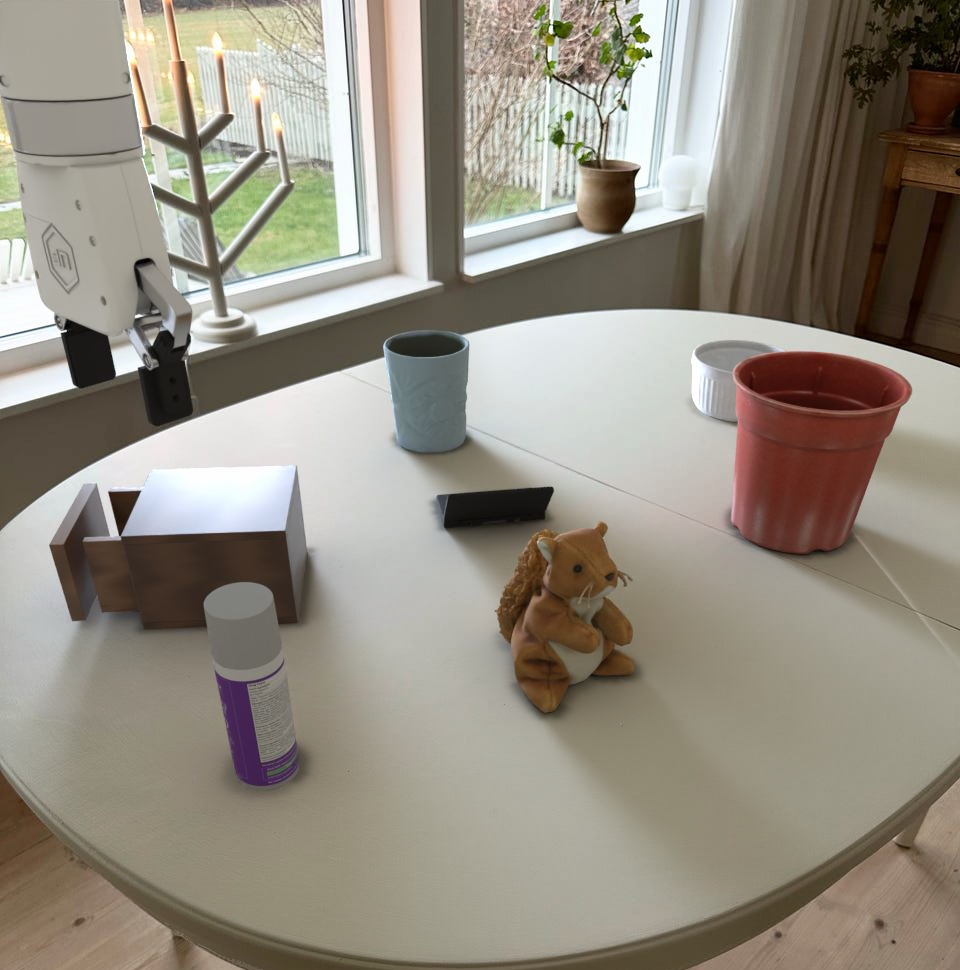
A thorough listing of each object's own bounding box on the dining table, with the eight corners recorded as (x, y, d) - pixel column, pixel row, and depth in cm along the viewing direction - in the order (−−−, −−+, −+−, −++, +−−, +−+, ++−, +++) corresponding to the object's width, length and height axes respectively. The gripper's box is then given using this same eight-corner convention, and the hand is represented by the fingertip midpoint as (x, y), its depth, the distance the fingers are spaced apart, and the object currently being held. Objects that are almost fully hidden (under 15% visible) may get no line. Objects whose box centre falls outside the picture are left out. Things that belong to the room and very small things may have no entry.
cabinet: (143, 630, 85) (120, 536, 79) (169, 557, 95) (150, 469, 89) (298, 624, 86) (285, 530, 80) (307, 552, 96) (297, 465, 90)
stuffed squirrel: (547, 723, 75) (555, 581, 67) (463, 632, 85) (462, 499, 77) (649, 685, 79) (669, 547, 71) (557, 602, 89) (565, 473, 81)
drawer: (57, 622, 84) (33, 545, 80) (90, 555, 94) (70, 483, 89) (214, 615, 85) (200, 539, 81) (231, 550, 94) (219, 479, 90)
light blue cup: (452, 461, 113) (450, 362, 106) (374, 448, 116) (368, 351, 109) (481, 428, 121) (481, 334, 114) (408, 417, 124) (404, 324, 117)
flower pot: (685, 498, 106) (706, 355, 96) (821, 484, 108) (854, 344, 99) (749, 575, 93) (780, 419, 83) (902, 558, 95) (949, 404, 86)
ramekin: (805, 406, 127) (816, 354, 123) (756, 436, 119) (766, 383, 115) (717, 381, 134) (724, 332, 130) (666, 409, 126) (672, 357, 122)
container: (223, 767, 71) (188, 598, 62) (277, 738, 73) (250, 573, 64) (257, 801, 68) (225, 629, 59) (312, 770, 70) (289, 601, 62)
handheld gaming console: (524, 472, 107) (538, 429, 97) (547, 529, 105) (563, 492, 96) (427, 501, 105) (431, 460, 95) (448, 559, 103) (455, 524, 94)
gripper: (-51, 119, 60) (21, 383, 70) (95, 155, 51) (154, 453, 61) (60, 108, 64) (114, 358, 74) (213, 139, 55) (250, 419, 65)
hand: (132, 400), depth 68 cm, fingers open, 9 cm apart
